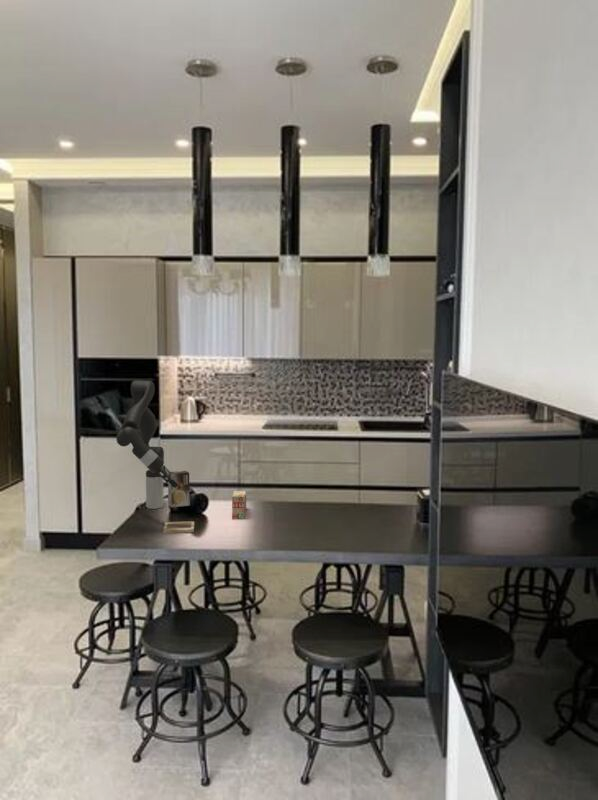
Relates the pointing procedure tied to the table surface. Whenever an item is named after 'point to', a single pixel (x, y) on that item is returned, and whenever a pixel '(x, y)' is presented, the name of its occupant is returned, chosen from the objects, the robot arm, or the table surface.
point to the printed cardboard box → (238, 504)
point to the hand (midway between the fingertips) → (176, 484)
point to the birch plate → (178, 527)
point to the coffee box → (179, 489)
